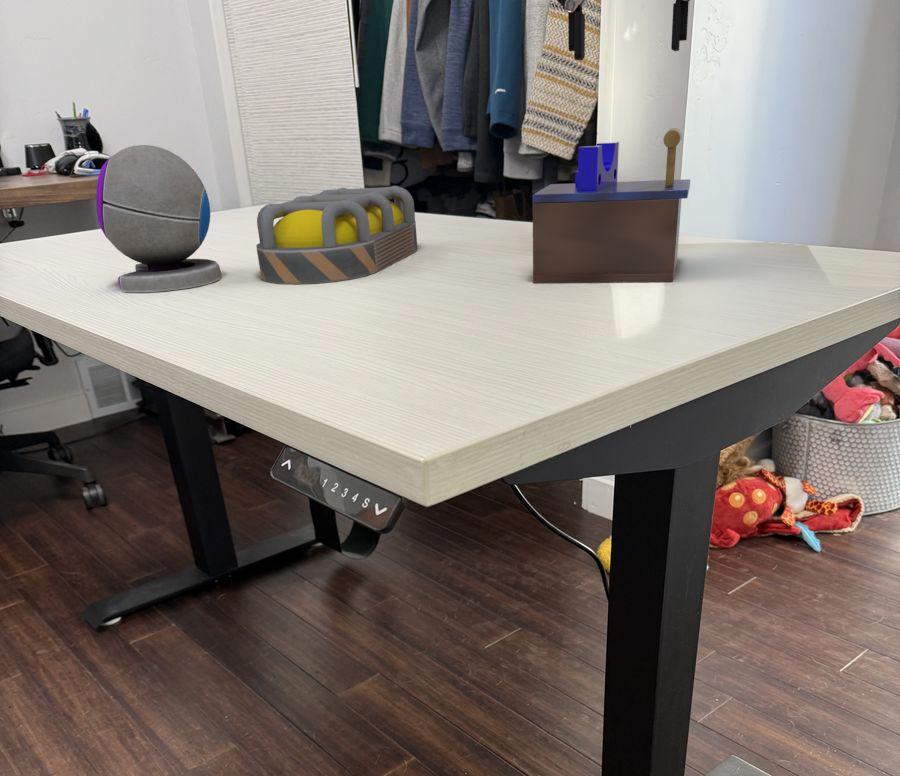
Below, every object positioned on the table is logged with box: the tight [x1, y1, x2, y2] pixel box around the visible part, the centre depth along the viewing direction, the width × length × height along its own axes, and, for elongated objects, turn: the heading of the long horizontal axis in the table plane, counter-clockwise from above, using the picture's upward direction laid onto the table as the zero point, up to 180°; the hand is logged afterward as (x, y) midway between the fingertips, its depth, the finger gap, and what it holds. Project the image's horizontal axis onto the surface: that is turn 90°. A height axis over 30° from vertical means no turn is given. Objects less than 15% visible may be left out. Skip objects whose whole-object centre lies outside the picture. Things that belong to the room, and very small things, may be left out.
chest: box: [532, 199, 682, 284], centre depth 93 cm, size 15×12×8 cm
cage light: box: [256, 185, 418, 285], centre depth 110 cm, size 15×8×30 cm
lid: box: [532, 127, 691, 204], centre depth 90 cm, size 15×12×6 cm
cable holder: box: [574, 141, 620, 191], centre depth 90 cm, size 8×4×4 cm, turn 156°
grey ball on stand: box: [95, 144, 222, 293], centre depth 102 cm, size 13×13×15 cm
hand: (626, 54), depth 88 cm, fingers open, 9 cm apart
